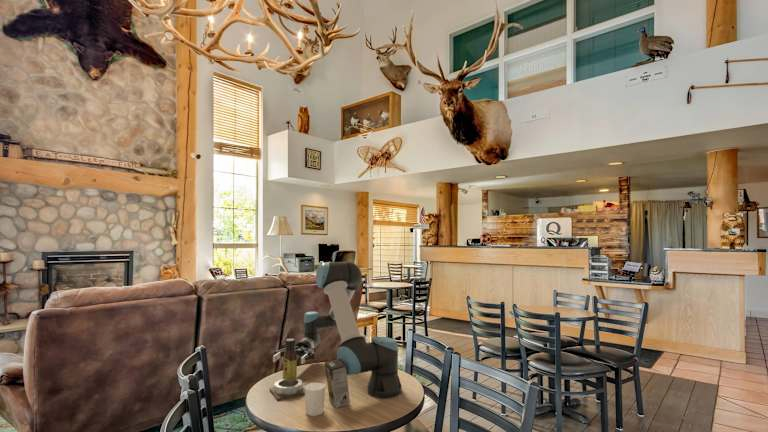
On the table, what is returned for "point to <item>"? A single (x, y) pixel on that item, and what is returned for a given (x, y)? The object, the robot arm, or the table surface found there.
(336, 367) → the coffee box
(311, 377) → the table surface
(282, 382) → the steel collar
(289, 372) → the sauce bottle
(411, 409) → the table surface
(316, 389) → the white cup
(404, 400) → the table surface
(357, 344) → the robot arm
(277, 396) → the walnut base
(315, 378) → the table surface
